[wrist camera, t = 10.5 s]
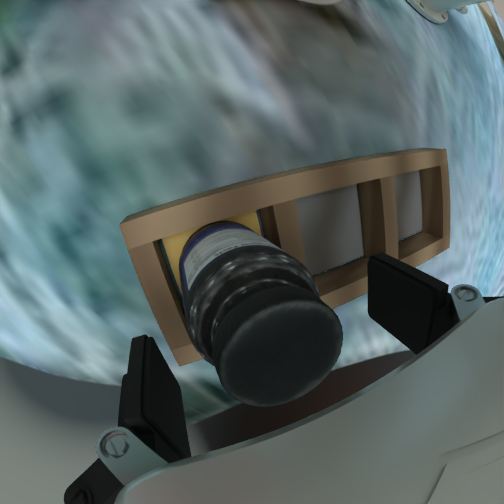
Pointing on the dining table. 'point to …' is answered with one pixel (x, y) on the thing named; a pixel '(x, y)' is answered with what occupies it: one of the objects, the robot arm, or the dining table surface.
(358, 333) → the dining table surface
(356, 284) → the socket board
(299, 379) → the pill bottle
